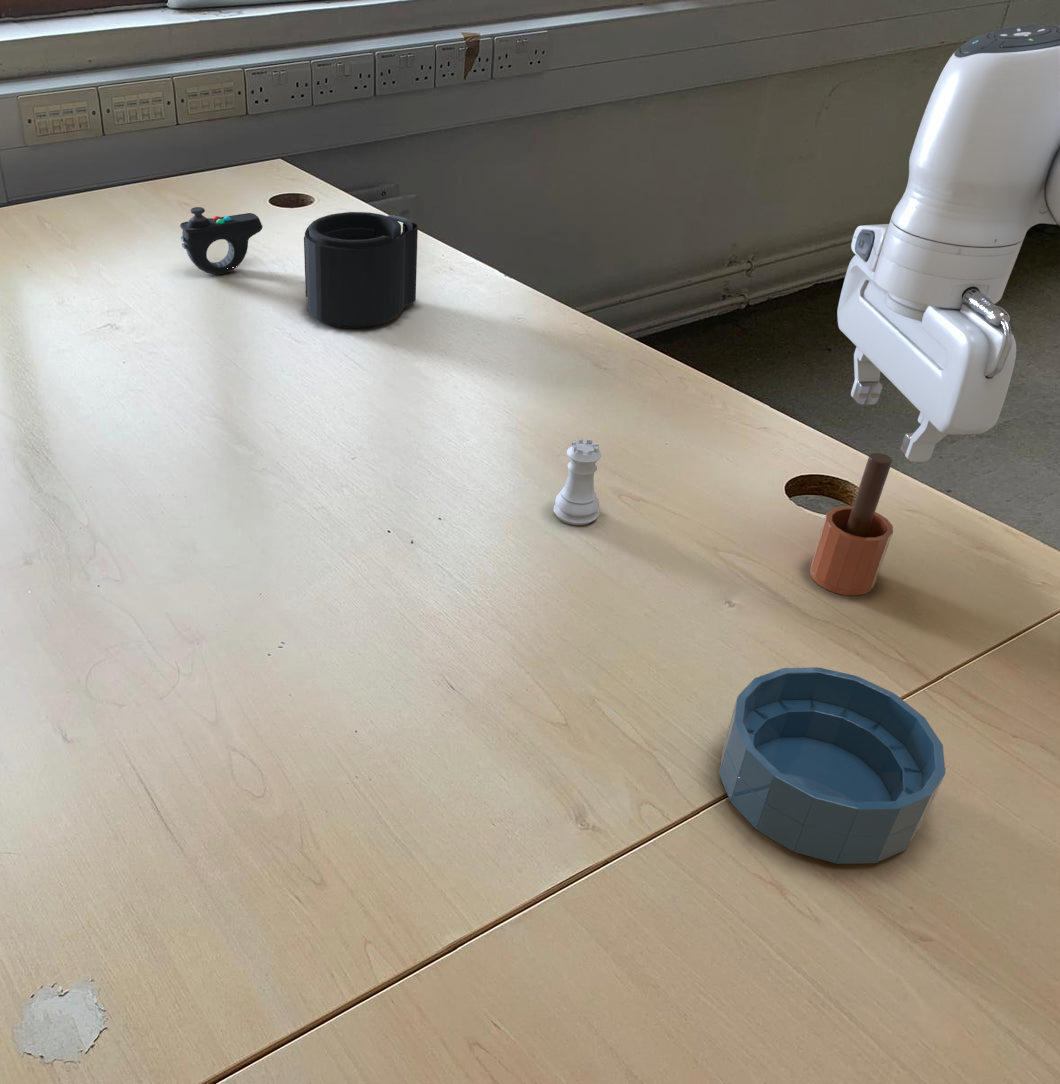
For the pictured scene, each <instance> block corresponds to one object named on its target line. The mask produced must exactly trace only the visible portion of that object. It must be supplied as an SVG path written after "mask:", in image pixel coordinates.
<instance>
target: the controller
mask: <svg viewBox="0 0 1060 1084" xmlns="http://www.w3.org/2000/svg"><path fill="white" fill-rule="evenodd" d="M205 212H206V209H205V208H204V207H201V206H195V207H192V208H191V209H190V213H191V214H193V216H192V217H191V218H190V219H189V220H188V221H184V222H181V223H180V224H179V226H180V229H181V230H182V232H181V233H182V235H181V236H180V240H181V241H182V243H181V247H182V248H183V249H184V250H185V251H186V253H187V256H188V258H189V259H190V261H191V263H193V265H194V266H196V267H197V268H198V269H199V270H201V271H202V272H203V273H204V272H205V273H206V274H210V275H217V276H218V275H223V274H228V273H230V272H231V271H233V270H235V269H236V268H237V267H239V265H240V264H241V263H242V262H243V261H244V259H245V257H246V255H247V252H248V248H249V240H250V239H251V238H252V237H253V236H255V235H256V234H258V233H260V232H261V231H262V230H263V228H264V227H263V224H262V221H261V219H260V218H259V216H257V214H255V213H252V212H246V213H239V214H233V215H225V216H218V215H215V216H214V217H213V218H211V217H206V216H204V213H205ZM220 240H225V241H226V242H227V244H228V250H227V253H226V255H225V256H224V258H223V259H221V260H219V261H216V262H212V261H210V260H209V259H208V255H207V254H208V249H209V248H210V246H211V245H212V244H214V242H217V241H220ZM236 266H237V267H236ZM232 267H234V268H232ZM227 268H228V269H227Z"/></svg>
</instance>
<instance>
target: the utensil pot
mask: <svg viewBox="0 0 1060 1084" xmlns="http://www.w3.org/2000/svg"><path fill="white" fill-rule="evenodd" d="M852 507H853V505H841V506H837V507H833V508H832V509H830V510H829V511H828V512H827V513H826V514H825V518H824V521H823V524H822V527H821V530H820V534H819V537H818V539H817V544H816V547H815V550H814V553H813V556H812V560H811V565H810V567H809V568H810V569H809V575H810V577H811V579H812V580H813V582H815V584H817V585H818V586H819V587H820V588H821V587H822V588H823V589H825V590H826V591H829V592H831V593H835V594H837V595H844V596H861V595H865V594H867V593H869V592H871V591H872V589H873V588H874V586H875V583H876V582H877V579H878V576H879V573H880V570H881V568H882V566H883V563H884V559H885V557H886V553H887V551H888V548H889V546H890V543H891V540H892V537H893V534H894V526H893V525H892V524H893V523H891V521H889V519H888V518H887V517H885V516H884V515H882V514H880V513H879V512H877V511H875V514H874V517H873V520H872V523H871V526H870V529H869V532H868V534H867V537H866V538H864V537H859V536H854V535H851V534H849V533H846V532H845V529H846V526H847V523H848V520H849V517H850V514H851V511H852Z"/></svg>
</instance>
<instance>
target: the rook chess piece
mask: <svg viewBox="0 0 1060 1084" xmlns="http://www.w3.org/2000/svg"><path fill="white" fill-rule="evenodd" d="M599 446H600V445H599V443H598V442H597V441H594V442H593V439H592V438H587V439H586V441H584V438H583V437H580V438H577V439H576V440H572V442H571V445H570V447H568V448H567V450H566V455H567V457H568V458H569V459H570V461H569V462H568V463H567V469H568V474H567V477H566V481H565V485H564V486H563V488H562V489H560V492H559V493H558V494H557V495H556V496H555V500H554V503H555V504H554V505H553V513H554V514H555V515H556V517H557V519H559V520H560V521H562V523H565V524H568V525H571V526H585V525H589V524H590V523H593V522H594V521H595V520H596V519H597V518H598V517H599V516H600V511H599V509H600V499H599V498H598V497H597V492H596V491H595V486H594V485H595V482H594V480H595V473H596V471H598V466H597V465H596V463H597V462H598V461H599V460H600V459H601V458H602V452H601V451H600V449H599V448H600V447H599Z"/></svg>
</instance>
